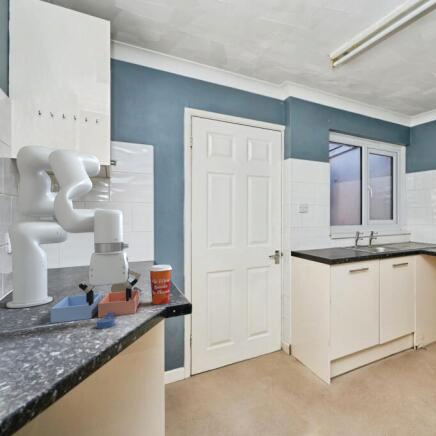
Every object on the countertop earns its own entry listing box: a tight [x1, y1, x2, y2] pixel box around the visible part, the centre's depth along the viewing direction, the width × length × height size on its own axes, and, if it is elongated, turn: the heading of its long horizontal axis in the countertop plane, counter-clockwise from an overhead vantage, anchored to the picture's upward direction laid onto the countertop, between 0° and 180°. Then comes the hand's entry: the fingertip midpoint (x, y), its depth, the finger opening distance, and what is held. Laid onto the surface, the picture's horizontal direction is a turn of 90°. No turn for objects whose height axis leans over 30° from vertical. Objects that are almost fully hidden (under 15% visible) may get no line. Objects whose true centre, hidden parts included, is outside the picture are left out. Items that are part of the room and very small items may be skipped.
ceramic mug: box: [110, 276, 143, 296], centre depth 129 cm, size 11×8×8 cm
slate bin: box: [50, 292, 103, 324], centre depth 105 cm, size 16×10×4 cm, turn 26°
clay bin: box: [97, 290, 141, 319], centre depth 111 cm, size 16×10×4 cm, turn 26°
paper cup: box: [148, 264, 173, 306], centre depth 119 cm, size 8×8×14 cm
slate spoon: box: [95, 312, 115, 330], centre depth 97 cm, size 11×4×2 cm, turn 26°
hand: (109, 302), depth 99 cm, fingers open, 9 cm apart
